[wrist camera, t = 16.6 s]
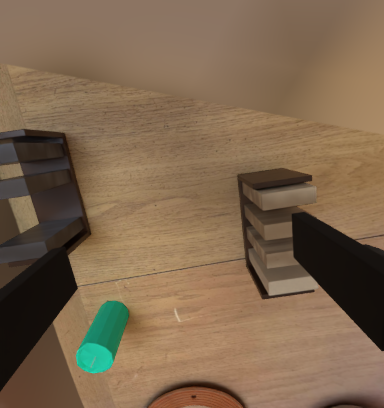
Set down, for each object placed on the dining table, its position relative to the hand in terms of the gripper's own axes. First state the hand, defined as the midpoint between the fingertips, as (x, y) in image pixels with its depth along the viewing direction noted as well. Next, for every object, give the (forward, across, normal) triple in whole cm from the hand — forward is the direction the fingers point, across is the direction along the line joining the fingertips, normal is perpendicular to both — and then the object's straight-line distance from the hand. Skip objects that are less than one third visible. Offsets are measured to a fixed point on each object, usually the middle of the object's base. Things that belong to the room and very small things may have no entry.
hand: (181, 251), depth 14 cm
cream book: (+28, +13, -15) cm, 34 cm away
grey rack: (+29, -22, +2) cm, 37 cm away
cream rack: (+29, +13, -10) cm, 33 cm away
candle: (+29, -18, -25) cm, 42 cm away
